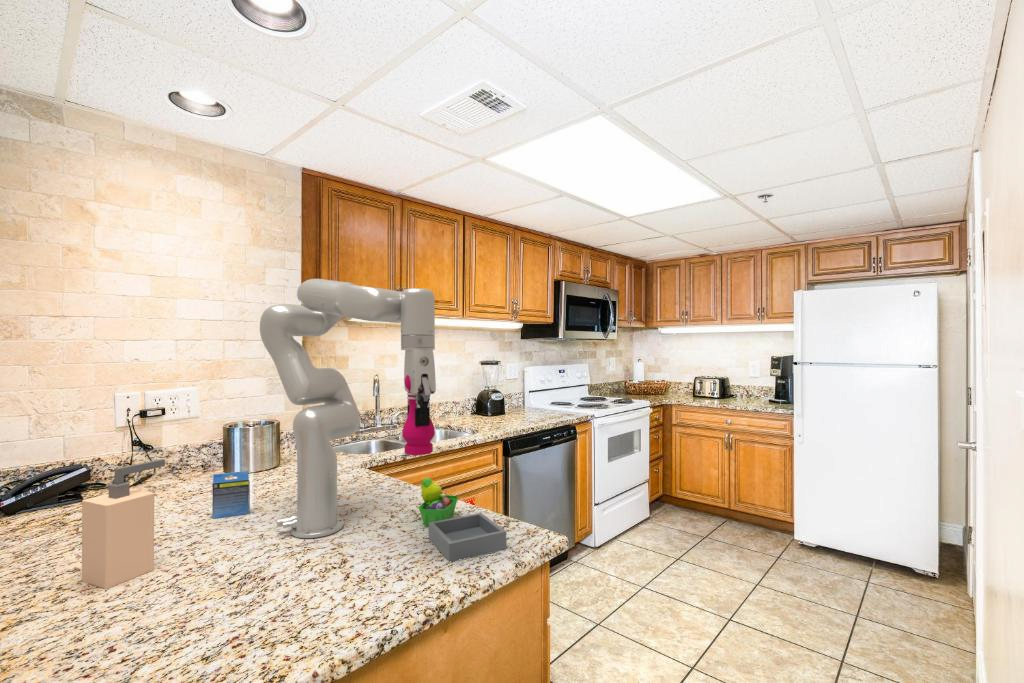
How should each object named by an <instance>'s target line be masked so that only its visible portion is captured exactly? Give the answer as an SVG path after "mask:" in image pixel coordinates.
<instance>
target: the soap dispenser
mask: <svg viewBox="0 0 1024 683" xmlns="http://www.w3.org/2000/svg"><path fill="white" fill-rule="evenodd" d="M165 466H166V460H165V459H164V458H160V459H155V460H151V461H150V460H149V461H145V462H141V463H135V464H130V465H126V466H122V467H118V468H114V480H113V481H114V482H113V483H110V484H108V493H105V494H102V495H98V496H94V497H89V498H86V499H82V501H81V510H82V511H81V582H82V583H83V582H84V583H86V584H90V585H93V586H96V587H99V588H101V589H103V590H104V589H105V590H108V589H110V588H113V587H115V586H118V585H120V584H123V583H126V582H127V581H130V580H133V579H135V578H138V577H140V576H142V575H144V574H147V573H150V572H153V571H154V570H155V492H151V491H145V490H142V489H141V490H140V489H135V488H130V482H126V481H125V480H124V479H125V476H127V475H132V474H136V473H141V472H145V471H149V470H154V469H158V468H159V469H160V468H163V467H165Z"/></svg>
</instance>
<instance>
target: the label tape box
mask: <svg viewBox="0 0 1024 683" xmlns="http://www.w3.org/2000/svg"><path fill="white" fill-rule="evenodd" d="M249 474H250V473H249V470H246V471H244V470H243V471H233V472H223V473H213V474H212V485H211V486H212V497H211V498H212V503H211V504H212V510H211V511H212V512H211V513H212V517H211V518H212V519H213V520H214V519H215V520H216V519H224V518H228V517H235V516H243V515H249V514H250V508H251V505H250V504H251V502H250V501H251V500H250V499H251V493H250V492H251V486H250V479H249V477H250V475H249ZM231 476H232V477H236V478H230V477H231ZM226 478H227V479H226ZM229 478H230V479H229Z"/></svg>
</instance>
